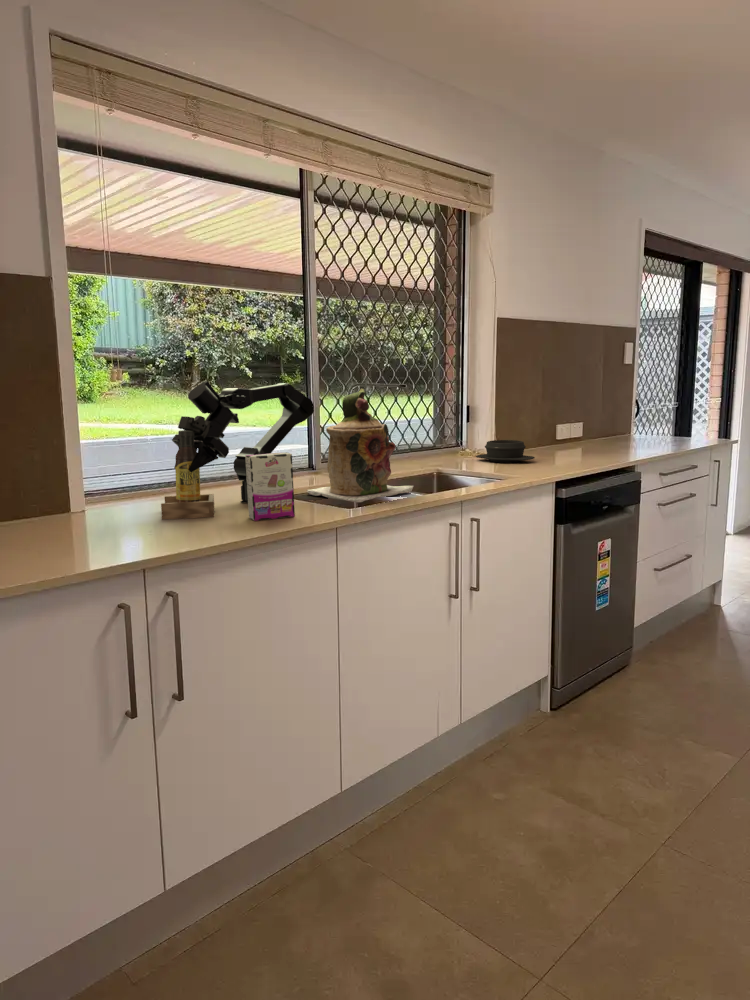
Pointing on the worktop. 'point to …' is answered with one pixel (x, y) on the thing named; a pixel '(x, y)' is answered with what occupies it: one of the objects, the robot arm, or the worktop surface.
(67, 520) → the worktop surface
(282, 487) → the candy bar box
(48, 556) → the worktop surface
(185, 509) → the box
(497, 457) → the casserole
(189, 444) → the sauce bottle
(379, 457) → the cookie jar
